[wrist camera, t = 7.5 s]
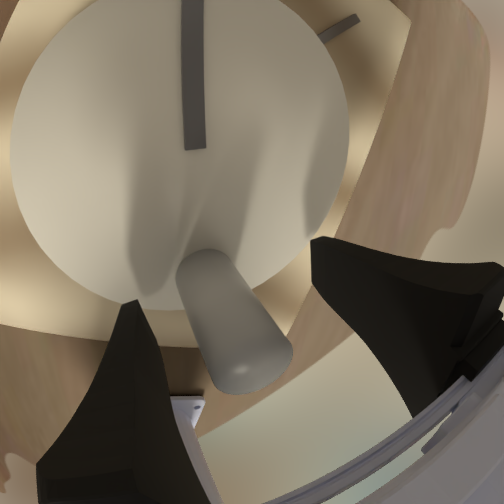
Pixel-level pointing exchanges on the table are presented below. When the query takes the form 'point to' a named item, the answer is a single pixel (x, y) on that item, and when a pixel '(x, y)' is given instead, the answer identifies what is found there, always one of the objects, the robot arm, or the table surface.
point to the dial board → (269, 293)
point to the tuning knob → (183, 163)
